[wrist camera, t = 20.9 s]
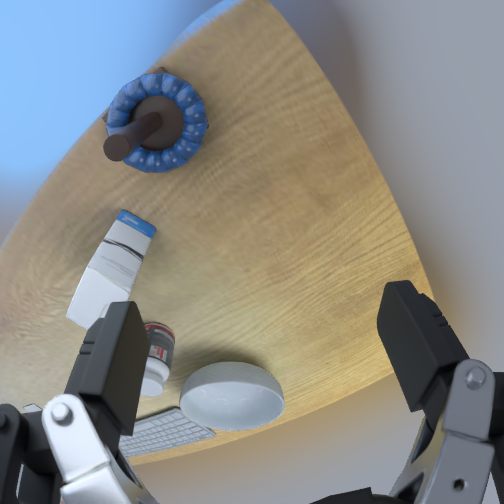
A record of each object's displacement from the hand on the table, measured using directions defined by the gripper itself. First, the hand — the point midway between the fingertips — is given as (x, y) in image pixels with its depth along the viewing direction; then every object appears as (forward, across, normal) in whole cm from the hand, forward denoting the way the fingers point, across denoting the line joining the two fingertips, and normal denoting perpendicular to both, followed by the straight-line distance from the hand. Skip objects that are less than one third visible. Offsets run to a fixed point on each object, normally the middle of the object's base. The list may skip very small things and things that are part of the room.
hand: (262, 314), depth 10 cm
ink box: (+26, +15, +12) cm, 32 cm away
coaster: (+26, +59, +60) cm, 88 cm away
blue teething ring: (+24, +8, -3) cm, 25 cm away
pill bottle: (+26, +15, +28) cm, 41 cm away
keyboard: (+26, +32, +65) cm, 77 cm away
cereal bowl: (+26, +5, +39) cm, 47 cm away
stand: (+26, +9, -3) cm, 28 cm away
